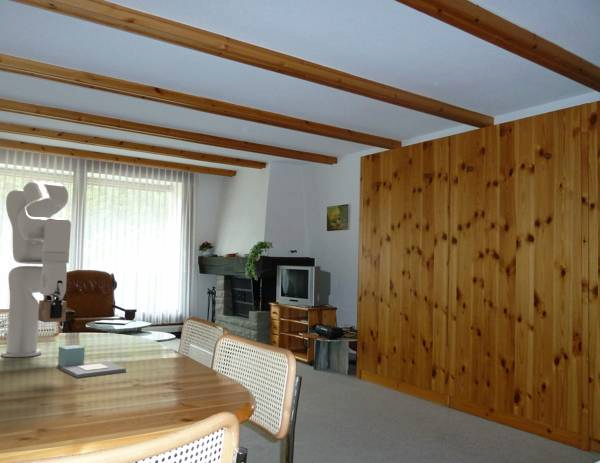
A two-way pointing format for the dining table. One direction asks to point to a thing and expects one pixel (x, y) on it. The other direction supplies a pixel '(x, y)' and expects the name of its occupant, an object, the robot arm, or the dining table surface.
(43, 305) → the walnut block
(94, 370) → the grey flat slab
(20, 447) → the dining table surface
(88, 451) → the dining table surface
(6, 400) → the dining table surface
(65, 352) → the teal block
